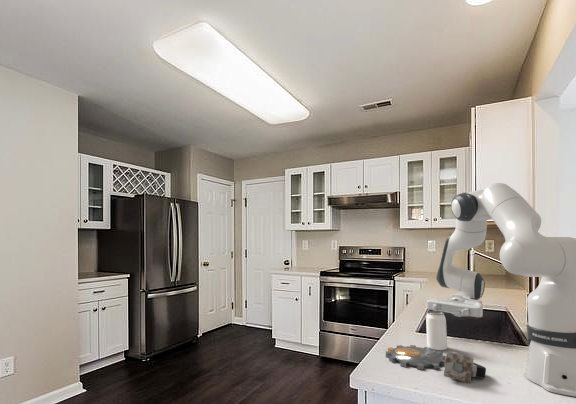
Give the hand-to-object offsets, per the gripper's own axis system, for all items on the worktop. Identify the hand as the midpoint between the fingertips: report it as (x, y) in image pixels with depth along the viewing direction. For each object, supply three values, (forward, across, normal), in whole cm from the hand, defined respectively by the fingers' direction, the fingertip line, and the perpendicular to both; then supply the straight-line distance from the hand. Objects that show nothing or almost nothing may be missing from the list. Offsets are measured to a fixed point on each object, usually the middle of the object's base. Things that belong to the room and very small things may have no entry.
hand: (447, 310), depth 132 cm
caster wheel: (+32, +15, +10) cm, 37 cm away
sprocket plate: (+27, -1, +10) cm, 29 cm away
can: (+12, 0, +11) cm, 16 cm away
